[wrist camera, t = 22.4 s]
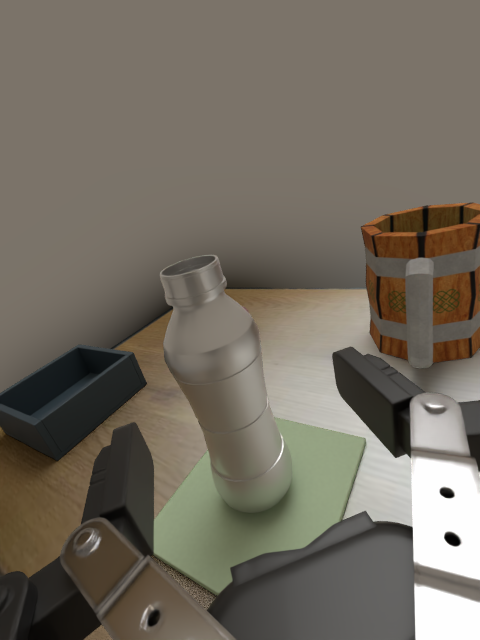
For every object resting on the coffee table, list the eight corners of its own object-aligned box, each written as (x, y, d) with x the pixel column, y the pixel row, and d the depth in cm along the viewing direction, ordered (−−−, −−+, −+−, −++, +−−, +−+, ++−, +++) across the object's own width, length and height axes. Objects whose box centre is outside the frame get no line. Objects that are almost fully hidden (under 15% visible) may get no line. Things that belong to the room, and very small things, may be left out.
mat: (301, 649, 19) (299, 644, 19) (139, 546, 27) (136, 542, 27) (366, 442, 31) (365, 438, 30) (239, 412, 38) (238, 408, 38)
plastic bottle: (312, 477, 28) (265, 246, 20) (260, 544, 24) (173, 292, 16) (257, 445, 33) (199, 246, 24) (205, 497, 29) (115, 282, 20)
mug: (376, 310, 52) (369, 213, 46) (483, 310, 45) (492, 196, 39) (351, 391, 37) (335, 263, 31) (504, 408, 30) (523, 249, 24)
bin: (57, 461, 38) (34, 425, 36) (5, 433, 46) (-17, 402, 44) (147, 383, 49) (133, 352, 47) (93, 371, 56) (78, 344, 54)
